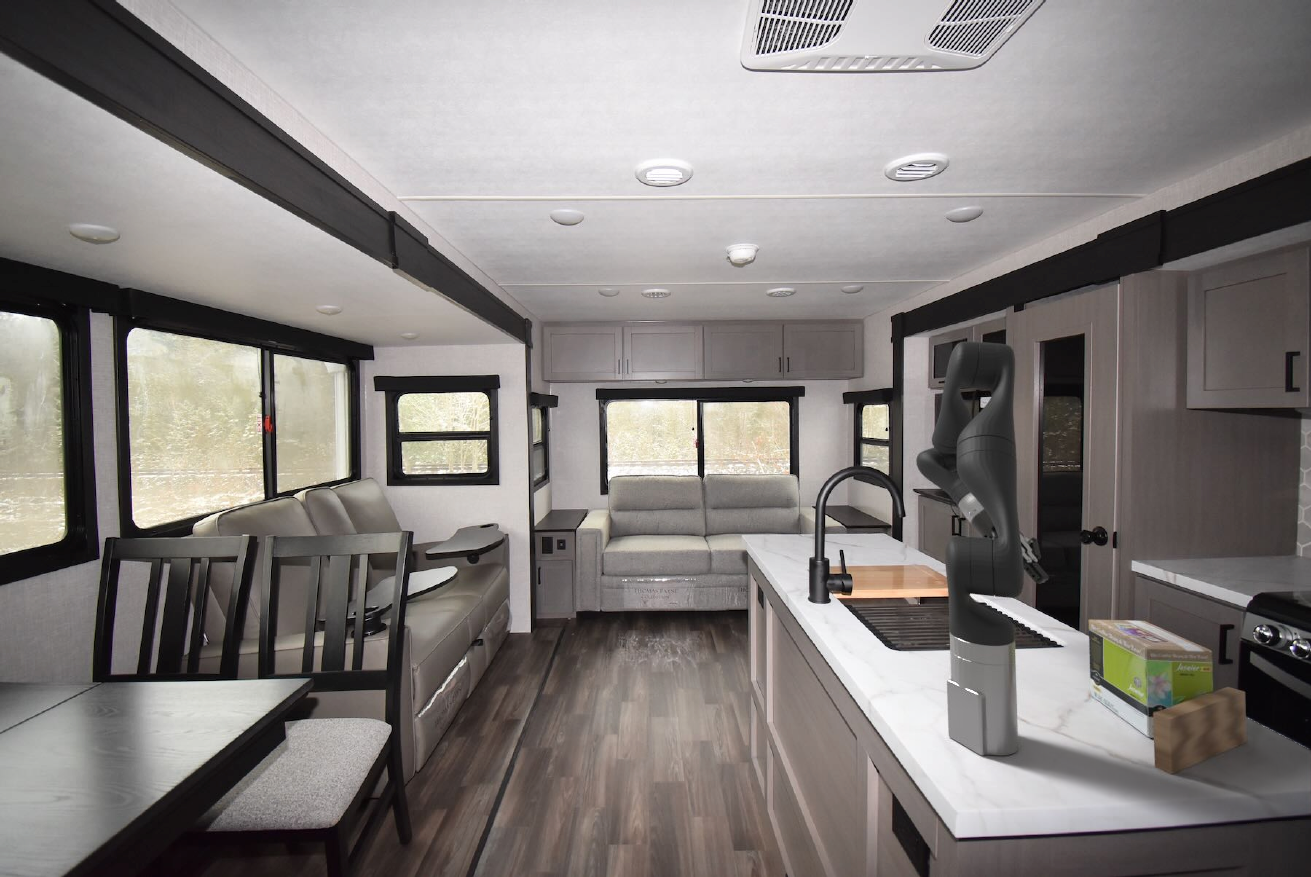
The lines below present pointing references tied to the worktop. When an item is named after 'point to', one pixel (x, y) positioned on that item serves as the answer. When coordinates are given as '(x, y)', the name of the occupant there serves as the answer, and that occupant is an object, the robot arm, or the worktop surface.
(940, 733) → the worktop surface
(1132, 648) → the tea box
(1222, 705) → the wooden block
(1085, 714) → the worktop surface
